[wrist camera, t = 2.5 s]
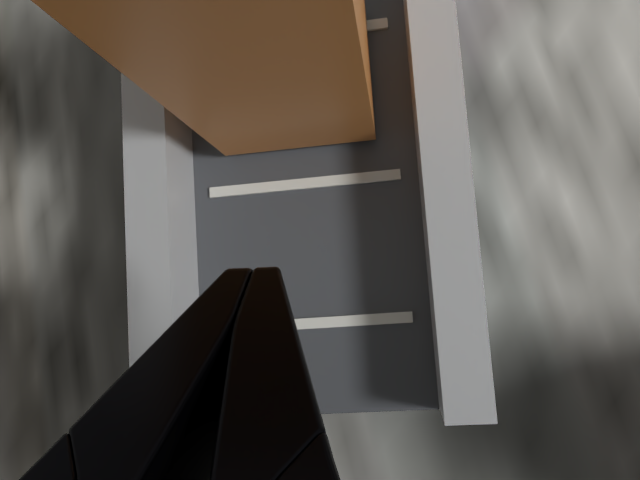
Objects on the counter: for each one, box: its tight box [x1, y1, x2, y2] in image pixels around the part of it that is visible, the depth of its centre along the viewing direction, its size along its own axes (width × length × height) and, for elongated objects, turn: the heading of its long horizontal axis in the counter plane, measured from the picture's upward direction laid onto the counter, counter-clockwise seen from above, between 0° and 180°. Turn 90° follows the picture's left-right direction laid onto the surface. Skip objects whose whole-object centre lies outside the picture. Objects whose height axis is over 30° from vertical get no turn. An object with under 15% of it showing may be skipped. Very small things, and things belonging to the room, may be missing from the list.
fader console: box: [121, 0, 498, 426], centre depth 17 cm, size 19×9×4 cm, turn 4°
